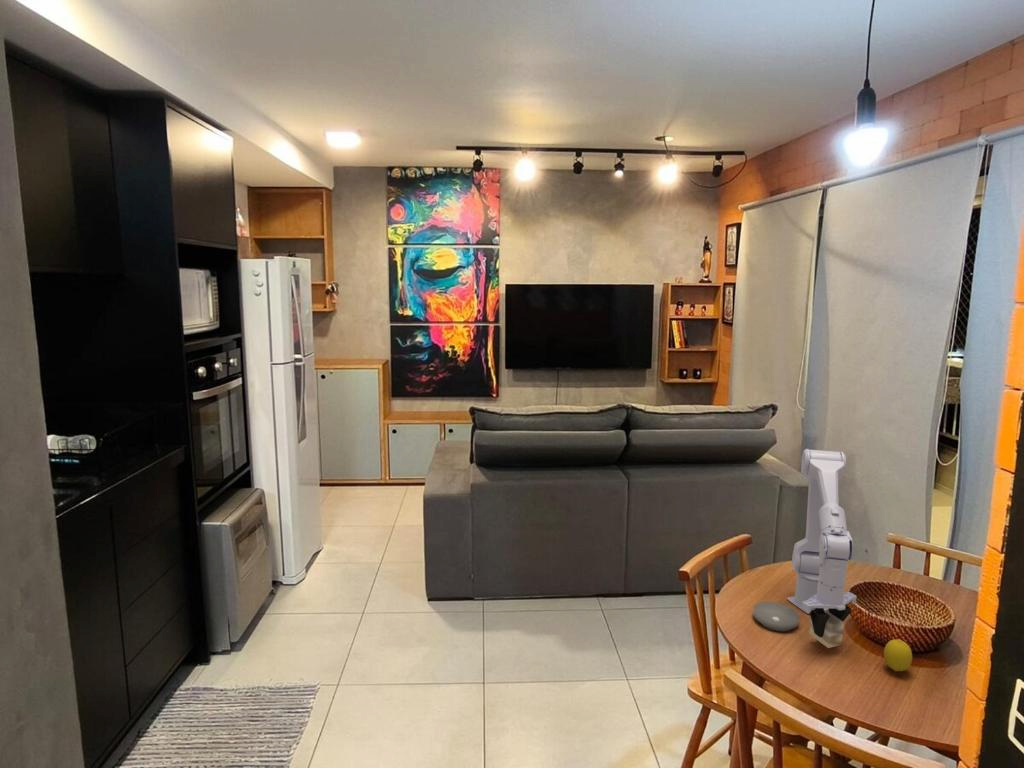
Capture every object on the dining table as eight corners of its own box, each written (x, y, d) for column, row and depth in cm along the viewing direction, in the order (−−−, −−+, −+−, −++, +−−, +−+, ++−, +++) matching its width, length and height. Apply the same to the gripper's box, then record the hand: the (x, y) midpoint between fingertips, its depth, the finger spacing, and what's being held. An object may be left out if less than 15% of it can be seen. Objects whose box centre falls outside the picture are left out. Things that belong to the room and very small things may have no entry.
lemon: (907, 667, 144) (912, 636, 143) (911, 681, 139) (916, 649, 138) (880, 661, 147) (884, 630, 145) (883, 674, 142) (887, 643, 140)
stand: (777, 607, 169) (778, 598, 169) (807, 629, 159) (808, 620, 159) (744, 613, 166) (744, 605, 166) (772, 636, 156) (773, 627, 155)
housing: (822, 631, 155) (824, 609, 153) (841, 645, 149) (844, 622, 148) (809, 633, 153) (811, 611, 152) (828, 648, 148) (830, 625, 147)
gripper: (820, 595, 142) (814, 648, 145) (869, 585, 147) (862, 637, 149) (797, 580, 149) (792, 631, 152) (845, 571, 153) (839, 621, 156)
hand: (825, 633), depth 151 cm, fingers closed on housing, 4 cm apart
